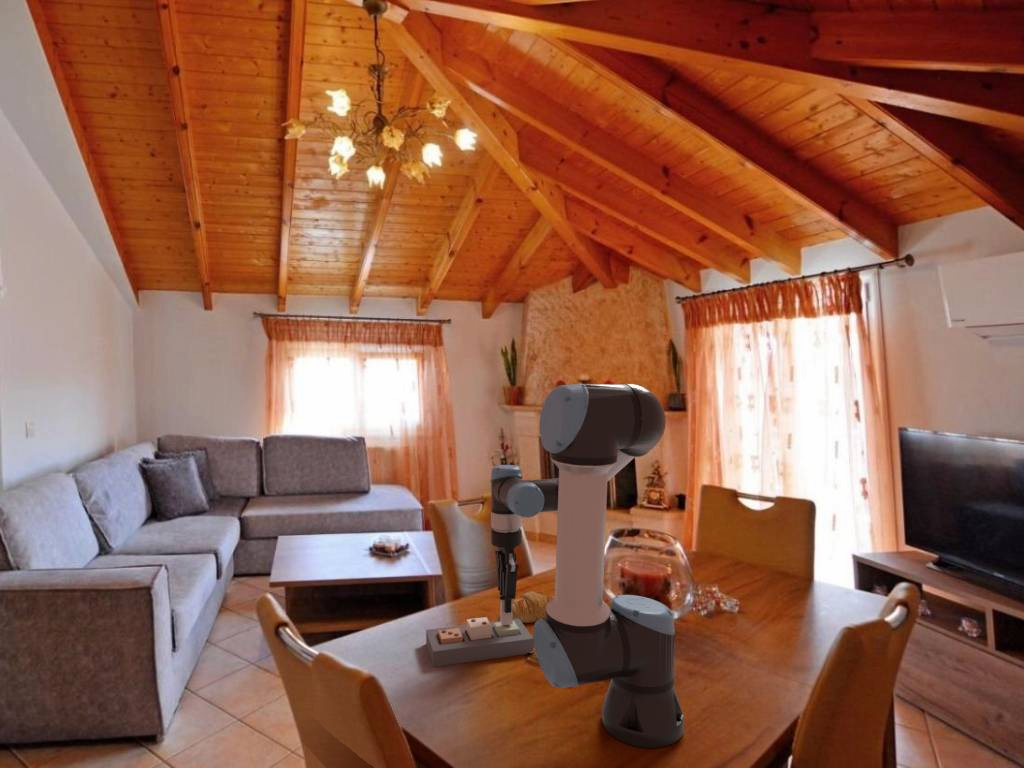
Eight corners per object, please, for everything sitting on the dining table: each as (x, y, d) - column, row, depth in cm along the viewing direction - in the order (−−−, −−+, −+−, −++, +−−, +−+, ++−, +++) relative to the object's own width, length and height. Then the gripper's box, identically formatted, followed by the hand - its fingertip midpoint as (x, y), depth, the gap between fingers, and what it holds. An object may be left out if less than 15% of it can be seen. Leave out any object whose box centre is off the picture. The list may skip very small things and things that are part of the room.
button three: (462, 649, 138) (462, 635, 138) (441, 651, 137) (441, 638, 137) (458, 640, 143) (458, 627, 143) (438, 642, 142) (438, 629, 142)
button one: (519, 641, 142) (519, 627, 142) (499, 643, 141) (499, 630, 141) (513, 632, 147) (513, 619, 147) (494, 634, 146) (494, 622, 146)
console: (533, 653, 140) (533, 638, 140) (433, 666, 133) (433, 651, 133) (519, 632, 151) (519, 618, 151) (426, 643, 145) (426, 629, 144)
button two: (491, 637, 140) (491, 624, 140) (470, 640, 139) (470, 626, 139) (486, 629, 145) (486, 616, 145) (466, 631, 144) (466, 618, 144)
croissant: (502, 641, 154) (509, 619, 151) (486, 612, 161) (492, 591, 158) (567, 621, 165) (574, 601, 162) (548, 595, 173) (555, 575, 169)
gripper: (528, 534, 139) (528, 633, 139) (513, 521, 151) (513, 611, 151) (498, 536, 136) (498, 636, 137) (485, 523, 149) (485, 615, 149)
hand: (506, 623), depth 144 cm, fingers closed
